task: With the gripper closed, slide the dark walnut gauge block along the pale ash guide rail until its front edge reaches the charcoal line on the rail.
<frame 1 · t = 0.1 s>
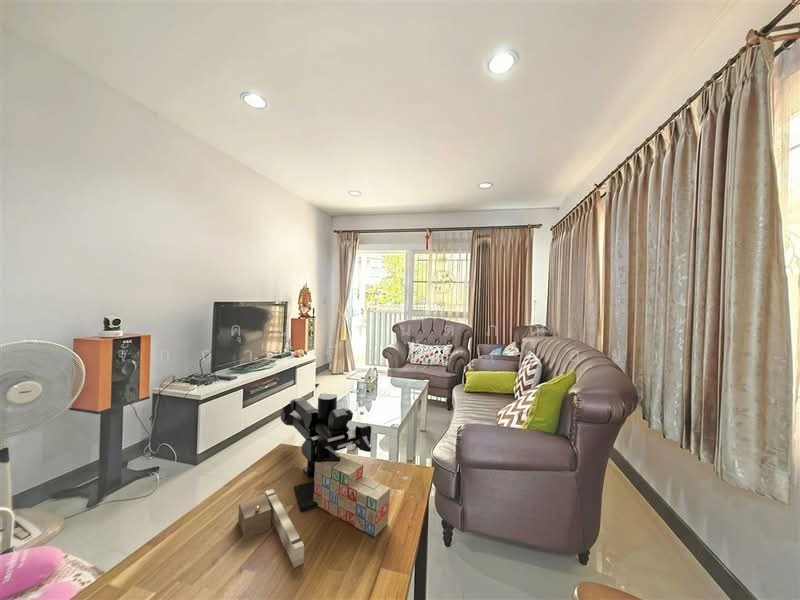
hand: (355, 454, 83), 17 cm above the table, tool horizontal, fingers open, 9 cm apart
stack of blocks: (349, 514, 84), on the table, touching handheld gaming console
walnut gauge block: (254, 525, 79), on the table
guide rail: (281, 531, 78), on the table
handheld gaming console: (313, 496, 91), on the table, touching stack of blocks
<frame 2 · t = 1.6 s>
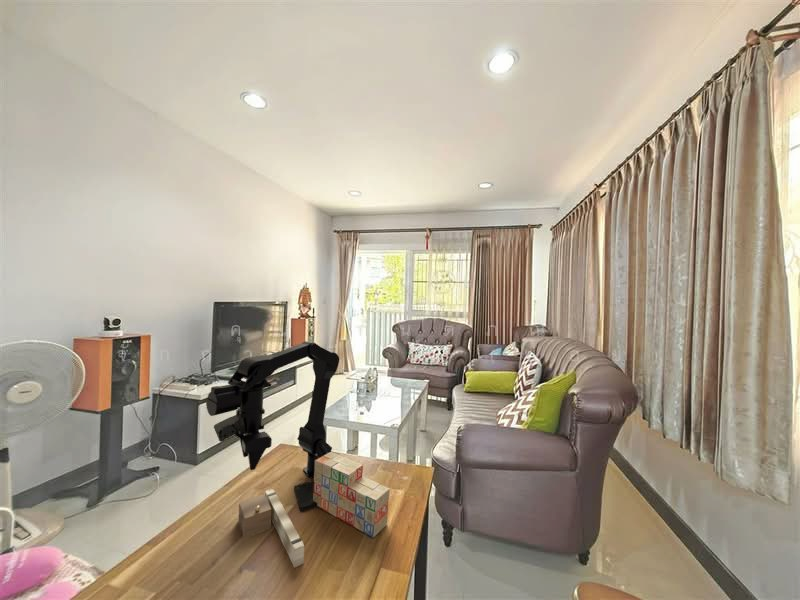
hand: (248, 462, 85), 12 cm above the table, tool pointing down, fingers open, 8 cm apart
stack of blocks: (348, 514, 84), on the table, touching handheld gaming console
everything else where it was.
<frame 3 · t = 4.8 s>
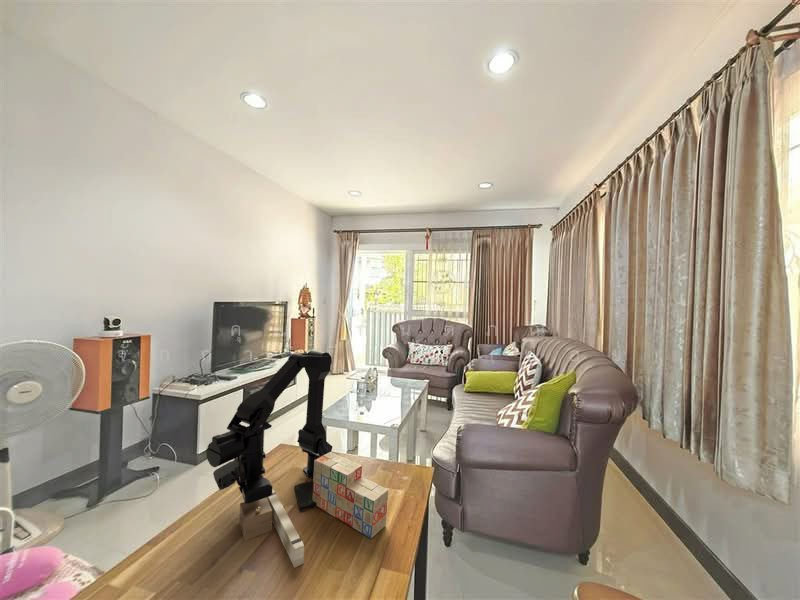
hand: (249, 507, 83), 2 cm above the table, tool pointing down, fingers closed
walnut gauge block: (255, 526, 79), on the table, touching gripper
everything else where it was.
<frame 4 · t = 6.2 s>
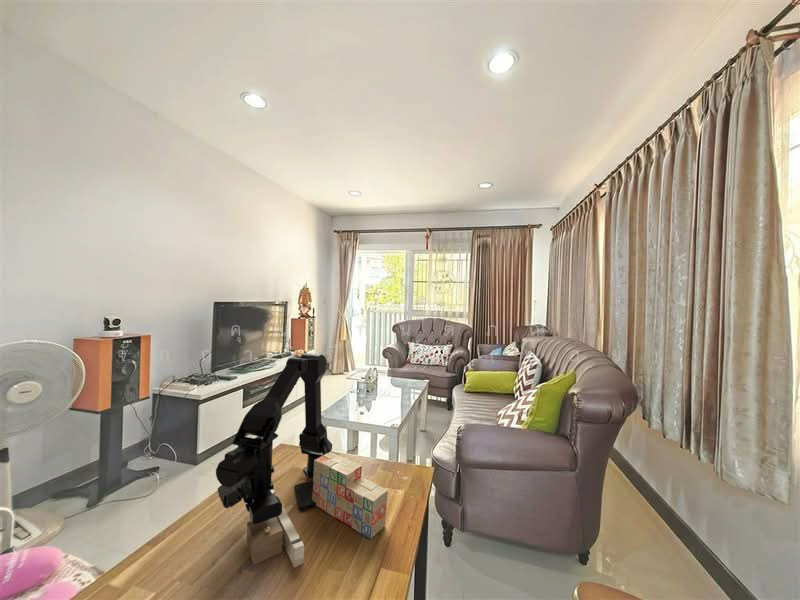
hand: (257, 526, 77), 2 cm above the table, tool pointing down, fingers closed
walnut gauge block: (263, 547, 72), on the table, touching gripper
everything else where it was.
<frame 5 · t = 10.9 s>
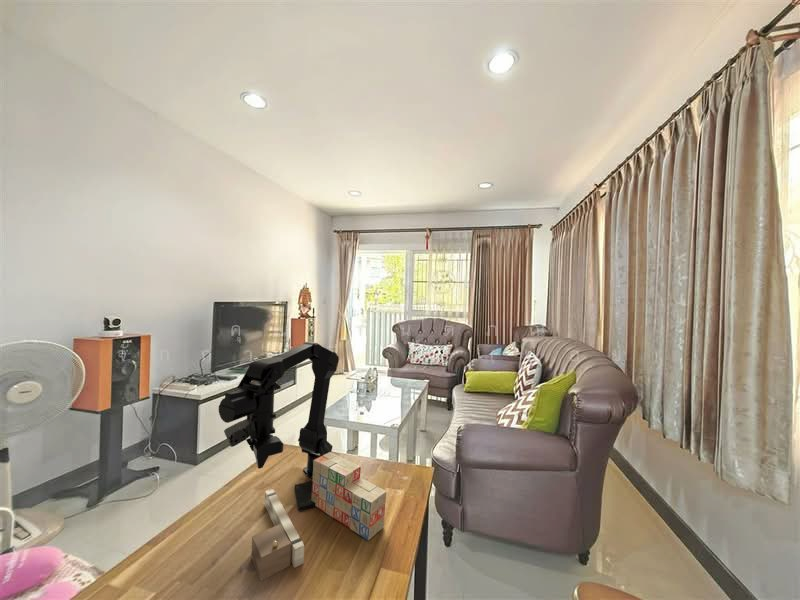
hand: (260, 467, 83), 12 cm above the table, tool pointing down, fingers closed
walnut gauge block: (270, 562, 69), on the table
everything else where it was.
at the end: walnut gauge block inside the target area (1.9 cm from its centre), on the table; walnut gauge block moved 13.4 cm from its start; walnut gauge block tilted 0° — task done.
